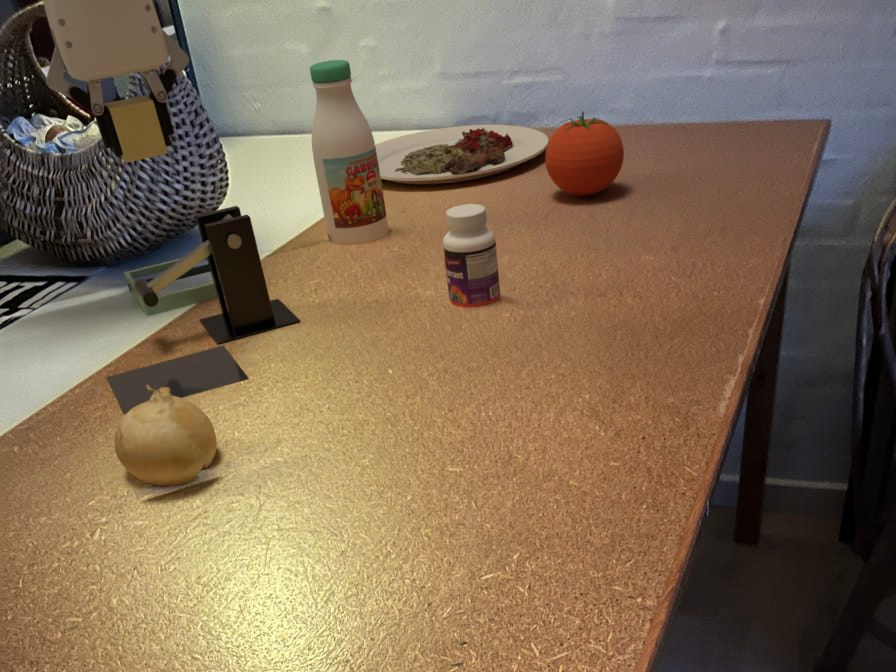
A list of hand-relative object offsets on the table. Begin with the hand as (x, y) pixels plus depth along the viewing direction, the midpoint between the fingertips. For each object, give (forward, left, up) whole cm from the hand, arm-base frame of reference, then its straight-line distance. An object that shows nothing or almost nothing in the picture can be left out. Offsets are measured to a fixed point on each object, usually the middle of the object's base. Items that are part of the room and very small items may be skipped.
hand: (141, 147), depth 103 cm
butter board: (-6, -23, -17) cm, 29 cm away
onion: (-10, -40, -17) cm, 45 cm away
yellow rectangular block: (0, 0, -1) cm, 1 cm away
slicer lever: (0, -13, -9) cm, 16 cm away
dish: (+1, +3, -17) cm, 17 cm away
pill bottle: (+26, -23, -17) cm, 39 cm away
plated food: (+49, +33, -17) cm, 61 cm away
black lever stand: (+4, -13, -17) cm, 22 cm away
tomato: (+55, +3, -17) cm, 58 cm away
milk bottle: (+24, +7, -17) cm, 30 cm away
